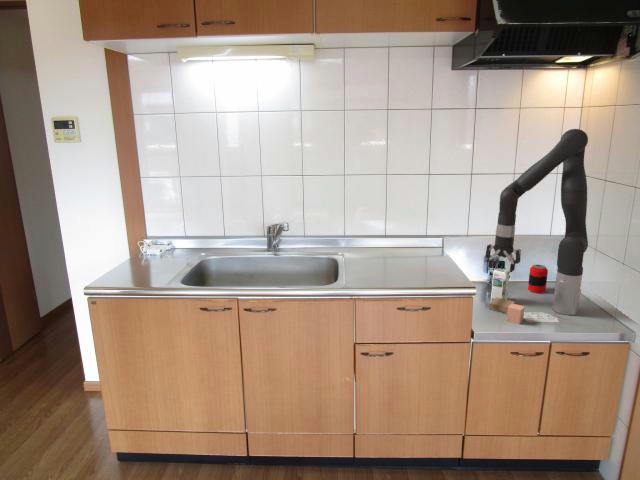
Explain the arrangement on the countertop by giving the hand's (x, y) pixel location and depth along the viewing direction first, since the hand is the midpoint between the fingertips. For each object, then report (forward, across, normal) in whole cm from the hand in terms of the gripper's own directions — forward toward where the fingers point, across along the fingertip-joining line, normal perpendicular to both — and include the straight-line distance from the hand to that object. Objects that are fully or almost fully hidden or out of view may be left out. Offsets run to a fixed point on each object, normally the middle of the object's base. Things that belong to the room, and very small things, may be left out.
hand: (501, 269), depth 198 cm
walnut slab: (+15, -4, +8) cm, 17 cm away
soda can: (+15, -10, -22) cm, 29 cm away
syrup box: (+15, 0, 0) cm, 15 cm away
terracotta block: (+15, -12, +16) cm, 25 cm away
